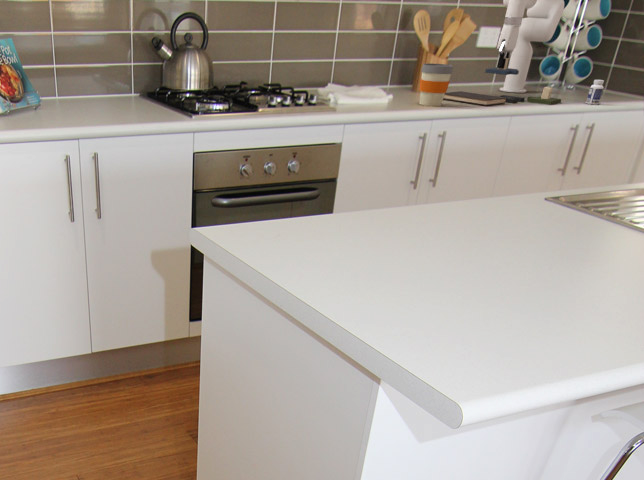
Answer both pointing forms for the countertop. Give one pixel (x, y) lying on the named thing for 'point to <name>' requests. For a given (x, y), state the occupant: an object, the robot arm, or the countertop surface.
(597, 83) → the pill bottle
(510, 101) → the base tile
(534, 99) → the olive tile
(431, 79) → the reusable coffee cup
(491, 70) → the slate tile
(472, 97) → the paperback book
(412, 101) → the countertop surface
